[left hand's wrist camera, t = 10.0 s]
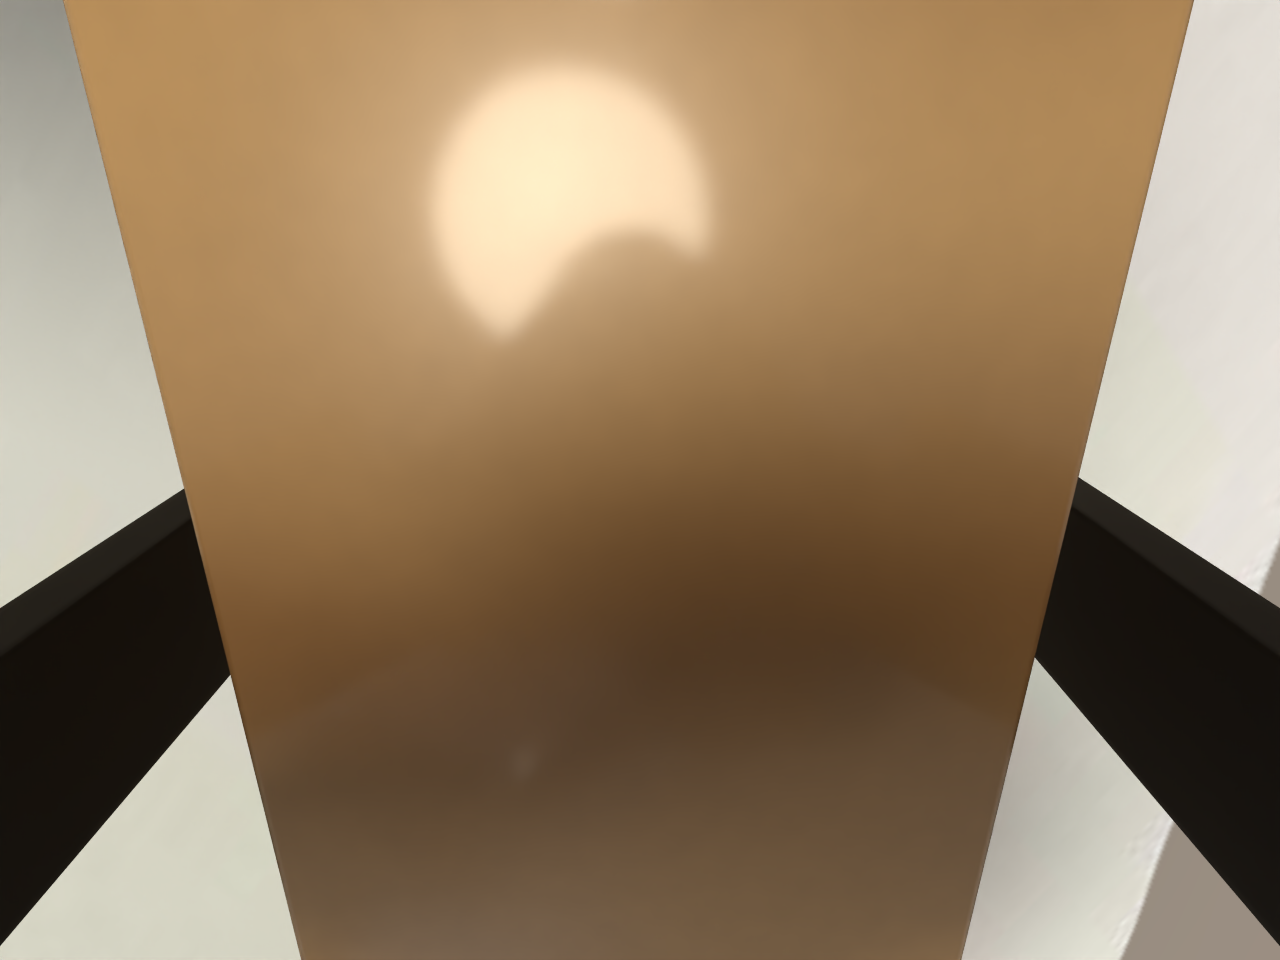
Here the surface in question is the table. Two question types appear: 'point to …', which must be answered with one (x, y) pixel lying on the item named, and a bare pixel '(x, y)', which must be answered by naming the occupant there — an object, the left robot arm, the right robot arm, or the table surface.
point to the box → (629, 437)
